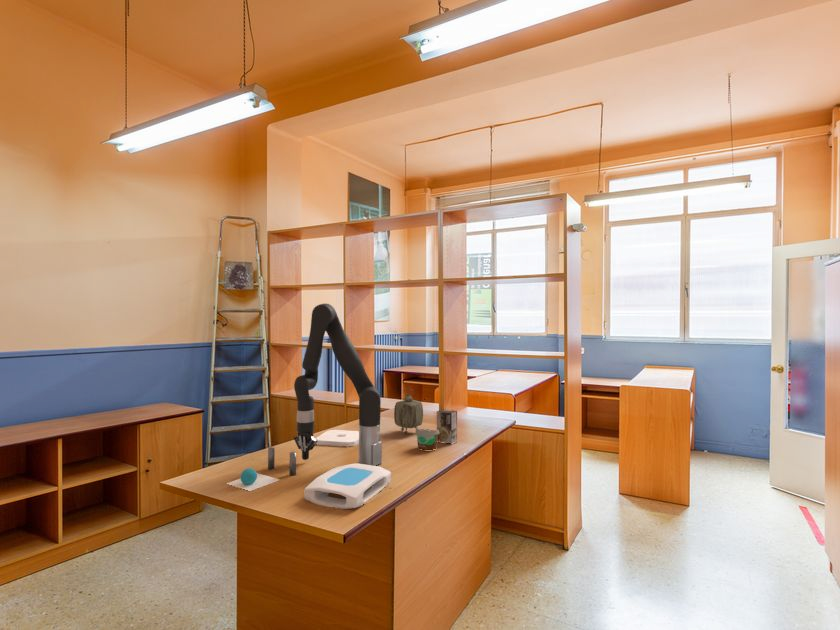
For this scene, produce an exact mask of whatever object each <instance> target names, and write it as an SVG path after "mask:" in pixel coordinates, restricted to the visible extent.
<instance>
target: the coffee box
mask: <svg viewBox="0 0 840 630" xmlns="http://www.w3.org/2000/svg"><path fill="white" fill-rule="evenodd" d="M438 429H439V433H440V434H438V441H440V442H447V443H453V442H455V441H457V442H458V411H457V410H451V409H445V408H444V409H439V410H437V411H436V430H438Z"/></svg>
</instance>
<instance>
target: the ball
mask: <svg viewBox="0 0 840 630" xmlns="http://www.w3.org/2000/svg"><path fill="white" fill-rule="evenodd" d="M257 473H258V472H257V471H256V470H255V469H254V468H251V467H250V468H249V467H247V468H245V469H244V470H243V471H242V472H241V474H240V477H239V479H241V481H242V483H243V484H246V485H250V484H252V483H254V482H255V480H256V479H257Z"/></svg>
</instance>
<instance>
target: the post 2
mask: <svg viewBox="0 0 840 630" xmlns="http://www.w3.org/2000/svg"><path fill="white" fill-rule="evenodd" d="M288 470H289V471H288V472H289V476H290V477H293V476H294V477H295V476H297V451H290V452H289V469H288Z"/></svg>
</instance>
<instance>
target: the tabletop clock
mask: <svg viewBox="0 0 840 630" xmlns="http://www.w3.org/2000/svg"><path fill="white" fill-rule="evenodd" d="M405 390H410V391H412V393H411V394H410V393H409V392H408V393H405ZM402 393H403V394H404V398H403V400H400V401H397V402H395V405H394V408H393V410H394V411H393V412H394V413H393V414H394V415H393V419H394V424H395V425H396V426H397V427H400V429H401V431H404V430H405V431H404V434H405V435H407V434H408V429H416V428H418V427H419V426H422V425H423V421H424V405H423V403H422V402H421V401H419V400H416V399H413V397H412V396H413V395H414V394H415V393H414V389H413V388H410V387H405V388H404V389H403V390H402Z"/></svg>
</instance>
